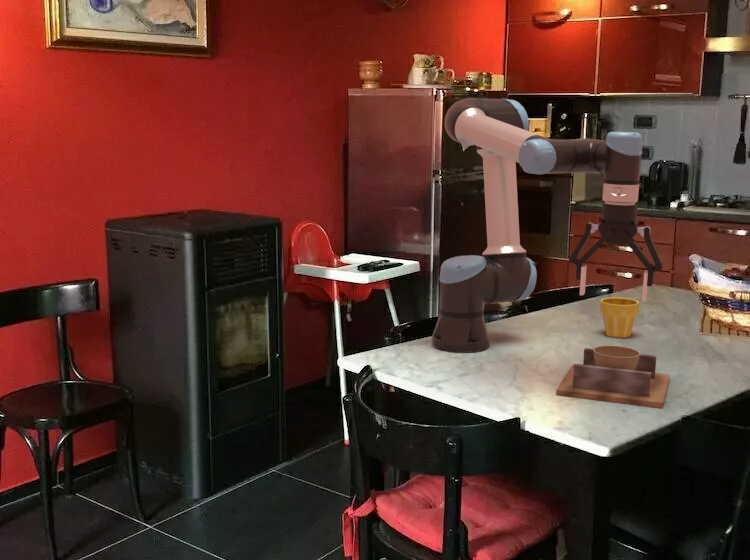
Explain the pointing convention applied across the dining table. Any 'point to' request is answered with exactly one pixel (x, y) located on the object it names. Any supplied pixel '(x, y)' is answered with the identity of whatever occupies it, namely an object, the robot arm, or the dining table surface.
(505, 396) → the dining table surface
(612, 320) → the plant pot
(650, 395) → the cup cradle
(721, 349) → the dining table surface
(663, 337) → the dining table surface
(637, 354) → the flower pot
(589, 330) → the dining table surface
